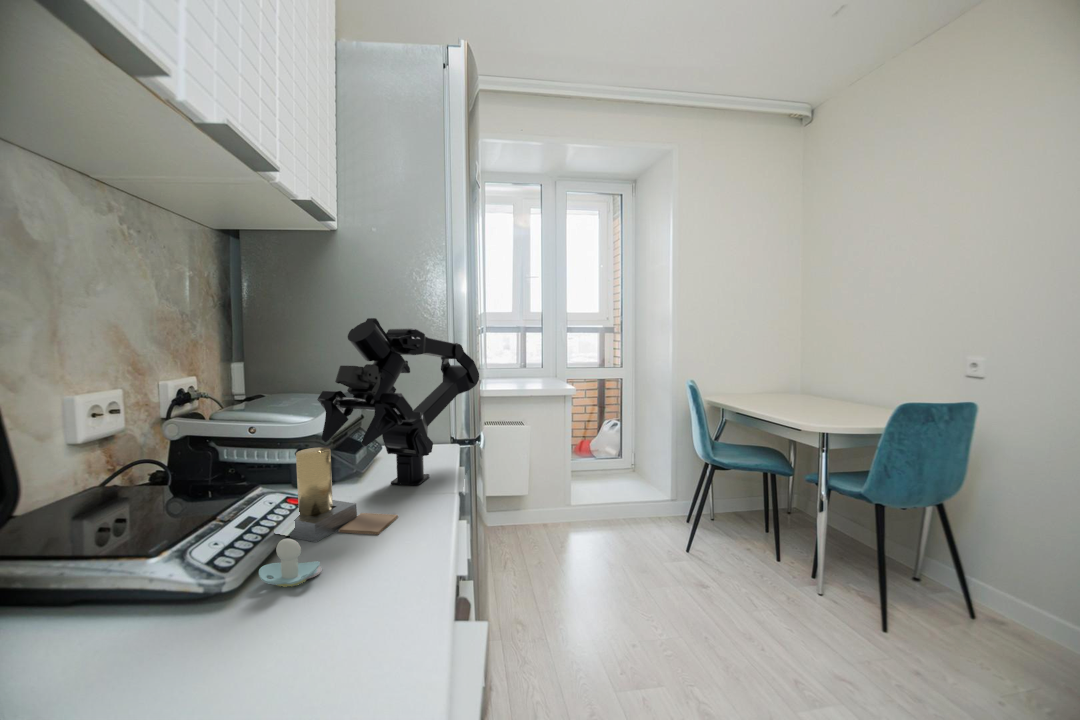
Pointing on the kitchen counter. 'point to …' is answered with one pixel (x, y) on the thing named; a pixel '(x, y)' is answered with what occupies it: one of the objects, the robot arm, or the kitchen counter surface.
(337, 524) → the housing
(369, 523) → the mat
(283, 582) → the pacifier
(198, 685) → the kitchen counter surface
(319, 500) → the gold metal cylinder
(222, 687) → the kitchen counter surface
